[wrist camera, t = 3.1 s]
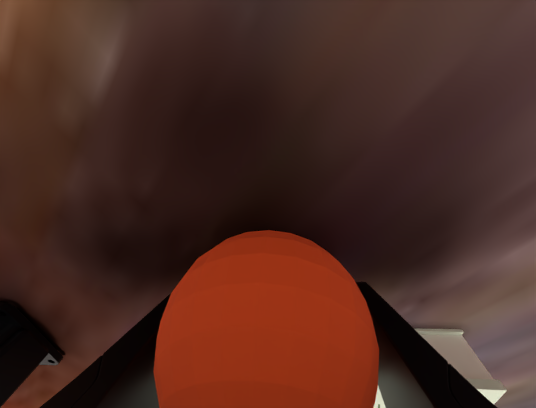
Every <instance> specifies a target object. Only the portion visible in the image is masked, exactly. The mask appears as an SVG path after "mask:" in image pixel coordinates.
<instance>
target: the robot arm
mask: <svg viewBox="0 0 536 408" xmlns="http://www.w3.org/2000/svg"><path fill="white" fill-rule="evenodd" d="M356 284H357V286H358V288H359V290H360V291H361V293H362V295H363V297H364V298H365V300H366V303H367V306H368V309H369V312H370V314H371V317H372V321H373V325H374V329H375V334H376V338H377V342H378V347H379V368H378V387H379V390H380V393H381V396H382V398H383V401H384V404H385V407H386V408H497V407H496V406H495V405H494V404H493V403H492V402H491V401H489V400H488V399H487V398H486V397H485V396H484V395H483V394H481V393H480V392H479V391H478V390H477V389H476V388H475V387H474V386H473V385H472V384H471V383H470V382H469V381H468V380H467V379H465V378H464V377H463V376H462V375H461V374H460V373H459V372H458V371H457V370H456V369H455V368H454V367H453V366H452V365H451V364H448V361H447V360H446V359H445V358H444V357H443V356H442V355H440V354H439V353H438V352H437V351H436V350H435V349H434V348H433V347H432V346H431V345H430V344H429V343H428V342H427V341H426V340H425V339H424V338H423V337H422V336H421V335H420V334H419V333H418V332H417V331H416V330H415V329H414V328H413V327H412V326H411V325H410V324H409V323H408V322H406V321H405V320H404V319H403V318H402V317H401V316H400V315H399V314H398V313H397V312H396V311H395V310H394V309H393V308H392V307H391V306H390V305H389V304H388V303H387V302H386V301H385V300H384V299H383V298H382V297H381V296H380V295H379V294H378V293H377V292H376V291H375V290H374V289H372V288H371V287H370V286H369V285H368V284H367V283H366V282H356ZM170 295H171V294H170ZM170 295H168V296H167V297H166V298H165V299H164V300H163V301H162V302H161V303H160V304H158V305H157V306H156V307H155V308H154V309H153V310H152V311H151V312H149V313H148V314H147V315H146V316H145V317H144V318H143V319H142V320H141V321H139V322H138V323H137V324H136V325H135V326H134V327H133V328H132V329H130V330H129V331H128V332H127V333H126V334H125V335H124V336H123V337H122V338H120V339H119V340H118V341H117V342H116V343H115V344H114V345H113V346H111V347H110V348H109V349H108V350H107V351H106V352H105V353H104V354H103V356H100V357H99V358H98V359H97V360H96V361H95V362H93V363H92V364H91V365H90V366H89V367H88V368H87V369H85V370H84V371H83V372H82V373H81V374H80V375H79V376H77V377H76V378H75V379H74V380H73V381H72V382H70V383H69V384H68V385H67V386H65V387H64V388H63V389H62V390H61V391H59V392H58V393H57V394H56V395H55V396H53V397H52V398H51V399H50V400H48V401H47V402H46V403H45V404H43V405H42V406H41V407H40V408H159V402H158V396H157V390H156V384H155V378H154V372H153V370H154V361H155V351H156V341H157V335H158V330H159V326H160V321H161V319H162V316H163V313H164V311H165V308H166V306H167V303H168V300H169V298H170ZM62 359H63V356H62V355H61V354H60V353H59V352H58V351H57V350H56V349H55V348H54V347H53V346H52V345H51V344H50V342H49V341H48V340H47V339H46V338H45V337H44V336H43V335H42V334H41V333H40V332H39V331H38V330H37V329H36V328H35V327H34V326H33V325H32V324H31V323H30V322H29V321H28V319H27V318H26V317H25V316H24V315H23V314H22V313H21V312H20V311H19V310H18V309H17V308H16V307H15V306H13V305H11V304H9V303H0V408H1V406H2V405H3V404H4V403H5V402H6V401H7V400H8V399H9V398H10V396H11V395H12V394H13V393H14V392H15V391H16V390H17V389H18V387H19V386H20V385H21V384H22V383H23V382H24V381H25V380H26V379H27V377H28V376H29V375H30V374H31V373H32V372H33V371H34V370H35V368H36V367H37V366H38V365H58V364H59V363H60V361H61V360H62Z"/></svg>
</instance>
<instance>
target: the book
mask: <svg viewBox="0 0 536 408" xmlns="http://www.w3.org/2000/svg"><path fill="white" fill-rule="evenodd" d="M414 329H415V328H414ZM415 330H416V331H417V332H418V333H419V334H420V335H421V336H422V337H423V338H424V339H425V340H426V341H427V342H428V343H429V344H430V345H431V346H432V347H433V348H434V349H435V350H436V351H437V352H438V353H439V354H440V355H442V356H443V357H444V358H445V359H446V360H447V361H448V364H451V365H452V366H453V367H454V368H455V369H456V370H457V371H458V372H459V373H460V374H461V375H462V376H463V377H464V378H465V379H467V380H468V381H469V382H470V383H471V384H472V385H473V386H474V387H475V388H476V389H477V390H478V391H479V392H480V393H481V394H483V395H484V396H485V397H486V398H487V399H488V400H489V401H491V402H492V403H493V404H495V403H496V402H497V401H498V400H499V398H500V397H501V396H502V395H503V394H504V393H505V392H506V391H507V390H506V388H505V387H504V386H503V384H502V383H501V382H500V380H494V379H493V378H492V376H491V375H490V374H489V372H488V371H487V369H486V368H485V367H484V365H483V364H482V363H481V361H480V360H479V358H478V357H477V356H476V354H475V353H474V351H473V350H472V349H471V347H470V346H469V345H468V343H467V342H466V340H465V339H464V338H463V336H462V334H463V333H464V332H463V331H462V329H415ZM378 404H379V405H380V408H386V407H385V404H384V401H383V398H382V396H381V393H380V390H379V387H378V388H377V394H376V400H375V404H374V407H373V408H378Z"/></svg>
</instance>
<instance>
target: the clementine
mask: <svg viewBox="0 0 536 408" xmlns="http://www.w3.org/2000/svg"><path fill="white" fill-rule="evenodd" d="M378 368H379V347H378V342H377V338H376V334H375V329H374V325H373V321H372V317H371V314H370V312H369V309H368V306H367V303H366V300H365V298H364V297H363V295H362V293H361V291H360V290H359V288H358V286H357V284H356V282H355V281H354V279H353V278H352V276H351V275H350V274H349V273H348V272H347V270H346V269H345V268H344V267H343V266H342V264H341V263H340V262H339V261H338V260H336V259H335V258H334V257H333V256H332V255H331V254H330V253H329V252H327V251H326V250H325V249H323V248H322V247H320V246H319V245H317V244H316V243H314V242H313V241H311V240H309V239H306V238H303V237H300V236H297V235H295V234H292V233H287V232H279V231H271V230H264V231H253V232H245V233H242V234H239V235H236V236H233V237H230V238H227V239H226V240H224V241H223V242H221V243H220V244H218V245H217V246H215V247H214V248H212V249H211V250H209V251H208V252H206V253H205V254H203V255H202V256H200V257H199V258H197V260H196V261H195V262H194V264H193V265H192V266H191V267H190V269H189V270H188V271H187V273H186V274H185V275H184V277H183V278H182V279H181V281H180V282H179V283H178V285H177V286H176V287H175V289H174V290H173V291H172V293H171V295H170V298H169V300H168V303H167V306H166V308H165V311H164V313H163V316H162V319H161V321H160V326H159V330H158V335H157V341H156V351H155V361H154V370H153V372H154V378H155V384H156V390H157V396H158V402H159V408H373V407H374V404H375V400H376V394H377V388H378ZM378 408H380V405H379V404H378Z"/></svg>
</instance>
